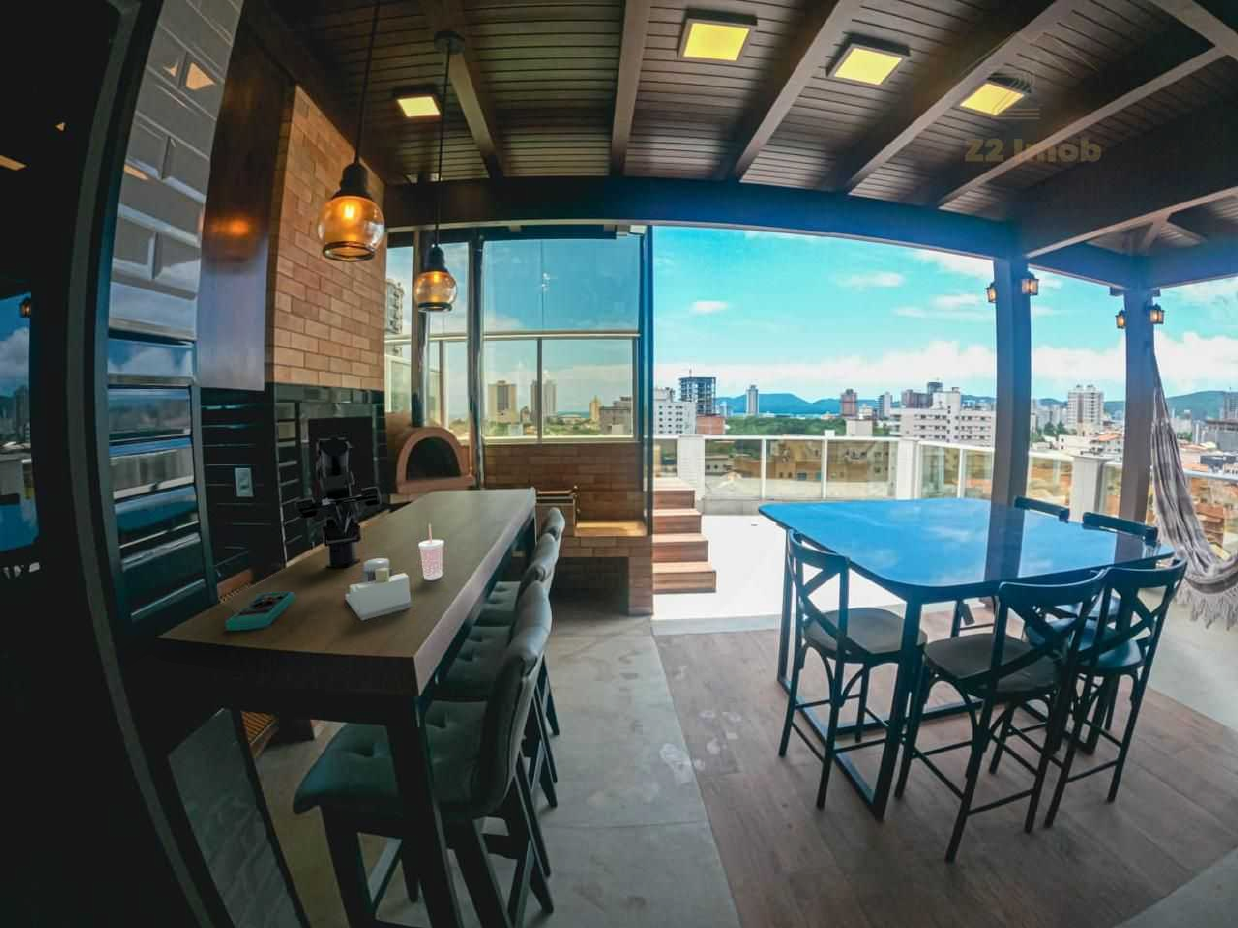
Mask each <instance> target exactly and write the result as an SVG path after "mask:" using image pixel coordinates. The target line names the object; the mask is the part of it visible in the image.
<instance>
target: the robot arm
mask: <svg viewBox="0 0 1238 928" xmlns="http://www.w3.org/2000/svg"><path fill="white" fill-rule="evenodd" d="M315 445H316V454H317V457H319V459H318V460H317V461H316V463H315V466H316V476H317V477H316V479H317V482H318V483H320V488H321V489H322V492H323V493H322V494H323V497H324V499H321V501H315V499H314V497H309V498H303V499H297V500H296V501H295V502H294V511H295V513H296V514H297V515H298V518H299V519H300V520H308V519H312V518H316V517H318V515H319V510H322V511H323V513H324V515H325V517H324V524H322V538H323V547H324V548H328V550H329V551H328V559H329V563H327V564H326V565H325V568H341V569H342V568H346V569H347V568H350V567H351V566H352V565H355V564H357V563H358V562H360V561H361V558H356V553H355V552H356V550H355V543H359V542H360V541H361V540H362V538H361V537H362V536H361V535H362V534H361V525H360V524H359V522H358V521H357V520H355V517H354V514H355V513H358V512H359V508H358V503H363V502H364V505H365V506H366V507H369V508H371V507H377V506H380V505H382V503H383V502H382V497H381V493H380V489H379V487H377V486H371V487H366V488H364V487H363V488H361V490H360V491H361V494H356V495H352V487H351V486H353V485H355V479H354V475H353V472H352V470H351V471H349V466H348V464H349V455H351V453H353V452H354V449H353V446H352V445H351V444H350V442H349V441H347V439H346V437H339V435H330V436H329V438H319V439H318V442H316V444H315Z"/></svg>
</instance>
